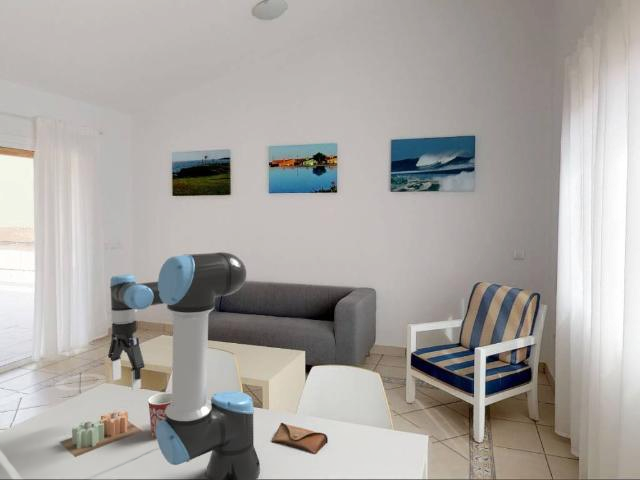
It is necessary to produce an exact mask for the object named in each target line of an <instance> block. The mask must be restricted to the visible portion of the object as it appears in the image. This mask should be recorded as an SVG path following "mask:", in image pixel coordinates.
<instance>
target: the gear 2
mask: <svg viewBox="0 0 640 480" xmlns="http://www.w3.org/2000/svg"><path fill="white" fill-rule="evenodd" d="M113 413H118V417H117V418H113V419H111V414H113ZM128 413H129V412H128V411H123V412H121V411H117V410H113V412H109V413H107V414H101V415H100V419H99V424H103V423H104V435H107V436H109V435H111V437H114V436H115V435H116V434H120V433H121V432H124V433H125V432H127V426H128V421H129V419H128V418H129V417H128V416H129V414H128Z"/></svg>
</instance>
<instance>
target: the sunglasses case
mask: <svg viewBox="0 0 640 480" xmlns="http://www.w3.org/2000/svg"><path fill="white" fill-rule="evenodd" d="M328 441H329V440H328V436H327V434H326V433H322V432H317V431H313V430H310V429H308V428H303V427H298V426H294V425H291V424H290V425H289V424H286V423H284V422H281V423H280V425H279V426H278V428H277V430H276V432H275V434H274V435H273V437H272V439H270V441H269V442H271V443H275V444H280V445H283V446H288V447H292V448H295V449H298V450H301V451H304V452H308V453H310V454H314V455H317V454H318V453H319V452H320V450H322V449H323V447H324V446H325V445H326V444H328Z"/></svg>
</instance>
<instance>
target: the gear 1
mask: <svg viewBox="0 0 640 480" xmlns="http://www.w3.org/2000/svg"><path fill="white" fill-rule="evenodd" d="M99 421H100V419H95V420H94V421H92V420H91V421H90V420H89V422H91V423H92V427H91V428H89V429H85V426H84V424H85V423H86V422H87V421H81V422H80V424H78V426H76V427H75V426H74V427H72V429H71V436H72V437H71V438H72V444H77V449H80V448H82V447H83V446H85V447H87V446H90V445H91V446H92V447H94V446H96V443H98V441H99V440H104V423H103V424H99Z"/></svg>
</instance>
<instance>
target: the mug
mask: <svg viewBox="0 0 640 480" xmlns="http://www.w3.org/2000/svg"><path fill="white" fill-rule="evenodd" d="M147 402H148V410H149V422H150V431H151V432H150V434H151V437H152V438H154V439H157V437H156V425H157V423H158V422H159V421H161V420H165V410H166V407H167V406H168V405H169V404H170V403H171V402H172V392H160V393H157V394H154V395H152V396H150V397H149V398H148V399H147Z"/></svg>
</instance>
